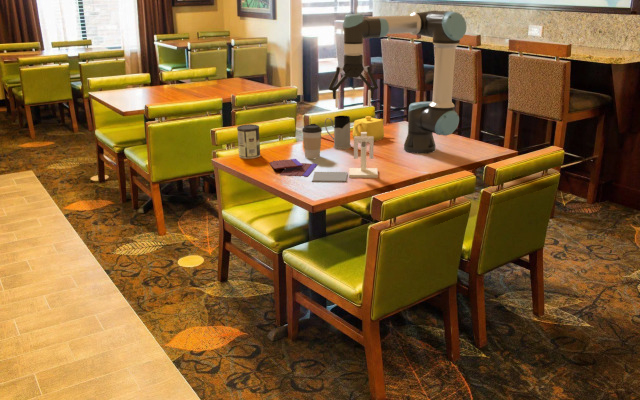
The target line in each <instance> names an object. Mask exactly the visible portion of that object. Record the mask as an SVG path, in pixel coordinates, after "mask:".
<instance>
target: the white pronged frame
mask: <svg viewBox="0 0 640 400" xmlns="http://www.w3.org/2000/svg"><path fill="white" fill-rule="evenodd" d="M361 142H367V143H369V145H368V146H369V156H368V157H369V159H370V160H371V159H374V142H375V141H374V136H354V139H353V159H357V160H358V159H359V143H361Z"/></svg>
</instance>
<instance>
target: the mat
mask: <svg viewBox="0 0 640 400" xmlns="http://www.w3.org/2000/svg"><path fill="white" fill-rule="evenodd" d="M347 178H348V172H347V171H314V173H313V177H312V183H347Z"/></svg>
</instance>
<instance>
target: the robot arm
mask: <svg viewBox="0 0 640 400" xmlns="http://www.w3.org/2000/svg"><path fill="white" fill-rule="evenodd" d="M342 29H343V45H344V47H343V54H344V56H343V67H341V66H338V65H337V66H336V67H335V68H336V69H335V72H334V75H333V76H332V78H331V81H330V83H329V85H328V87H327V89H328V90H329V91H331V92H332V99H333V100H334V101H335V108H336V109H337V108H339V91H338V89H339V88H340V87H341V85H342V84H343V83H344V82H345V80H346V79H347V78H349V79H352V78H354V79H357V78H360V79H361V80H362V81H363V82H364V84H365V85H366V86H367V87H368V88H369V89H368V90H367V106H368V107H369V108H370V107H372V103H371V100H372V99H374V92H375V91H376V90H378V89H379V86H378V84H377V81H376V80H375V78H374V76H373V73H372V72H371V69H372V68H371V67H370V65H366V66H364V63H363V59H364V55H363V53H364V52H363V51H364V45H363V44H364V39H373V38H375V39H376V38H378V39H380V38H382V37H383V38H384V37H386V36H387V35H393V34H394V35H395V34H396V35H398V34H410V35H411V36H423V37H428V38H432V45H434V47H435V58H434V71H433V72H434V73H433V85H432V86H433V88H432V101H418V102H417V101H416V102H412V103H410V104H409V106H408V115H407V116H408V117H407V118H408V120H407V122H408V123H407V136H406V139H405V141H404V144H403V150H404V151H405V152H407V153H411V154H430V153H431V154H432V153H434V152H436V141H435V140H434V136H433V134H437V136H438V135H439V136H446V137H447V136H450V135H451V134H453V133H454V132H455V131H456V130H457V128H458V126H459V122H460V116H459V114H458V113H457V111H455V109H456V108H455V107H456V106H455V104H454V103H453V100H452V99H453V91H454V90H453V88H454V74H455V62H456V50H457V49H456V48H457V47H458V46H459V45H460V41H461V39H463V38H464V35H465V34H466V32H467V21H466V19H465V18H464V16H463V15H462V14H461V13H459V12H457V11H453V10H451V11H450V10H445V11H444V10H428V11H421V12H412V13H410V14H409V15H383V16H381V15H380V16H364V15H363V14H362V13H361V14H359V13H349V14H346V15H345V16H344V20H343V23H342ZM342 71H343V73H344V74H343V75H342V77H341V78H340V79H339V80H338V82H337V83H336V81H337V79H338V77H339V75H340V74H341V73H342ZM364 71H365V72H366V73H367V75H368V77H369V79H370V81H371V83H372V85H371V84H370V82H369V81H368V79H367V78H366V77H365V76H364V75H363V74H362V73H363V72H364ZM374 90H375V91H374Z"/></svg>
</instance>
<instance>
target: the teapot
mask: <svg viewBox="0 0 640 400" xmlns="http://www.w3.org/2000/svg"><path fill="white" fill-rule="evenodd" d="M384 121H385V120H384V118H380V119H379V118H375V117H372V116H370V115H368V116H365V118H364V117H363V118H359V119H355V120H354V121H353V127H352V138H353V140H354V136H361V132H367V136H374V142H376V141H377V142H378V141H380V140H383V139H384V137H385V129H384V127H385V126H384Z"/></svg>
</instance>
